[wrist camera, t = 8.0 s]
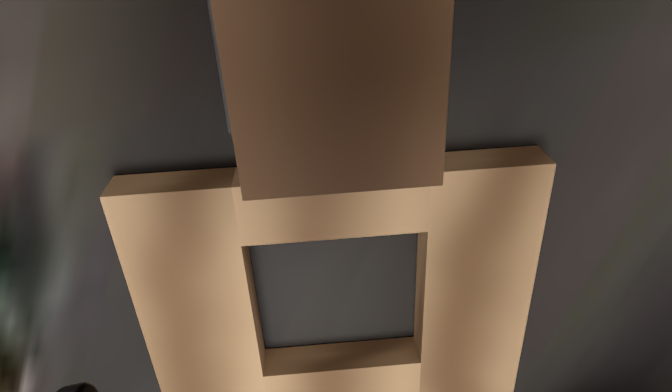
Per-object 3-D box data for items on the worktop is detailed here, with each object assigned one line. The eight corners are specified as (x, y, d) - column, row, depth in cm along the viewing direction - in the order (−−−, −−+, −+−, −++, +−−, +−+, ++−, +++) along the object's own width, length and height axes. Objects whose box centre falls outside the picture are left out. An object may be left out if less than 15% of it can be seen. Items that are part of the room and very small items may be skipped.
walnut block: (392, -57, 15) (456, -33, 9) (391, 88, 18) (442, 185, 11) (242, -48, 15) (206, -17, 9) (261, 98, 17) (242, 201, 11)
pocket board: (537, 145, 19) (556, 163, 18) (501, 365, 25) (513, 391, 24) (113, 176, 19) (99, 197, 17) (178, 394, 25) (171, 422, 23)
